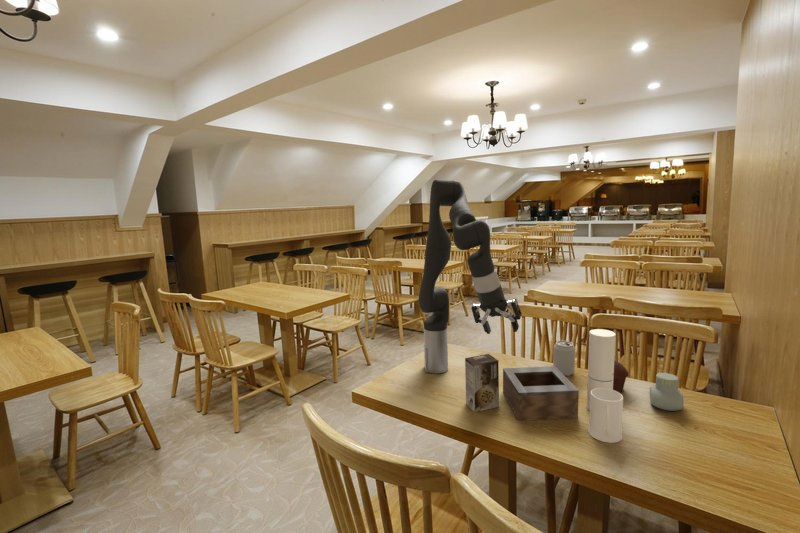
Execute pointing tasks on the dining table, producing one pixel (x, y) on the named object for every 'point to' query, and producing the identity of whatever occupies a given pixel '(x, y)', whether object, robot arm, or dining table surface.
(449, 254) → the robot arm
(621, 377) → the muffin
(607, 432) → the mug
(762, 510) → the dining table surface
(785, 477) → the dining table surface
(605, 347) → the cylindrical container
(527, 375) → the drop box
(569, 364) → the can
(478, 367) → the coffee box
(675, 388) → the air freshener
